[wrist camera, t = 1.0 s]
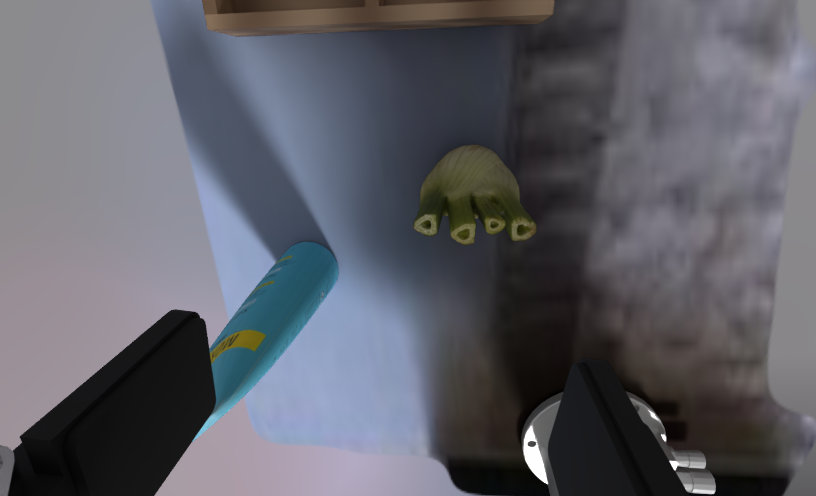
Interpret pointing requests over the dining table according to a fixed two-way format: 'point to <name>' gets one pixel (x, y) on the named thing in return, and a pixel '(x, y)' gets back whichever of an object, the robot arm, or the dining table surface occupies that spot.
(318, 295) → the tube
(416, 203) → the dining table surface
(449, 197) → the fennel bulb
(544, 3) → the wooden compartment tray
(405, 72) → the dining table surface
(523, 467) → the dining table surface
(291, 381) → the dining table surface
